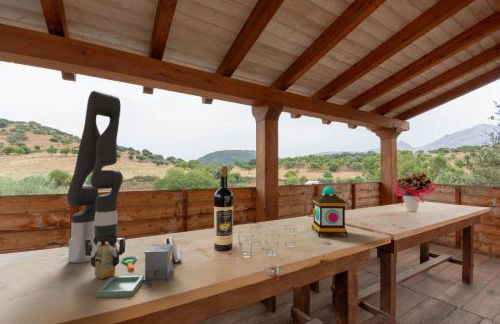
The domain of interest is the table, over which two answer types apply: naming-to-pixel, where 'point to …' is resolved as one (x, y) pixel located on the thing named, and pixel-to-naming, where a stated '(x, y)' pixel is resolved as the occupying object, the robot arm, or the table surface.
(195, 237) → the table surface
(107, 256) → the shoe polish box
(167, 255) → the box
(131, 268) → the magnifying glass
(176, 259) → the white piece
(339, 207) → the decorative lantern
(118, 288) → the tray
